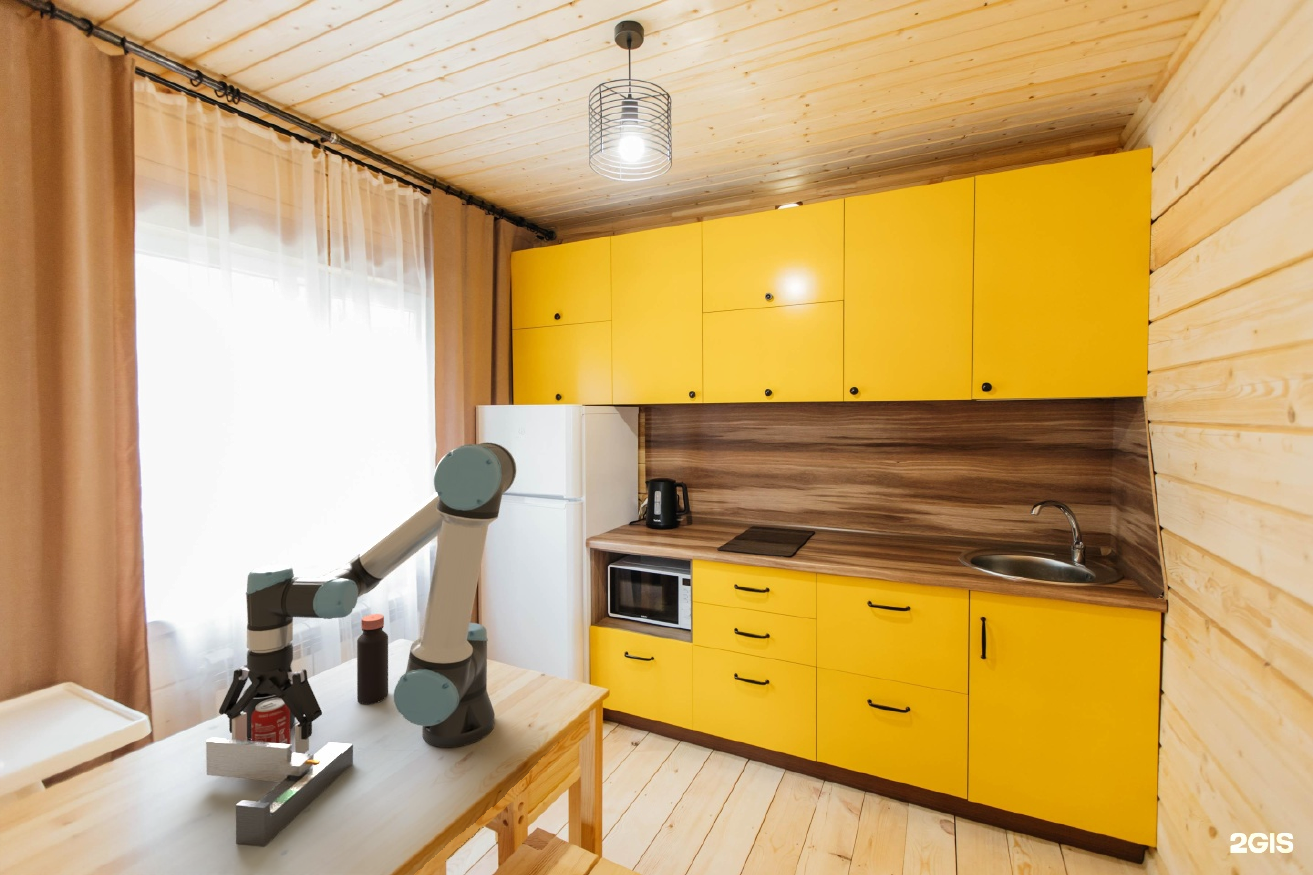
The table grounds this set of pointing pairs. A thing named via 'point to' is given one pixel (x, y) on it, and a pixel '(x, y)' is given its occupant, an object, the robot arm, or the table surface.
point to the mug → (254, 702)
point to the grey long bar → (290, 797)
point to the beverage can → (271, 722)
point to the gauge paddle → (255, 760)
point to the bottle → (372, 661)
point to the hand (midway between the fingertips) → (270, 751)
